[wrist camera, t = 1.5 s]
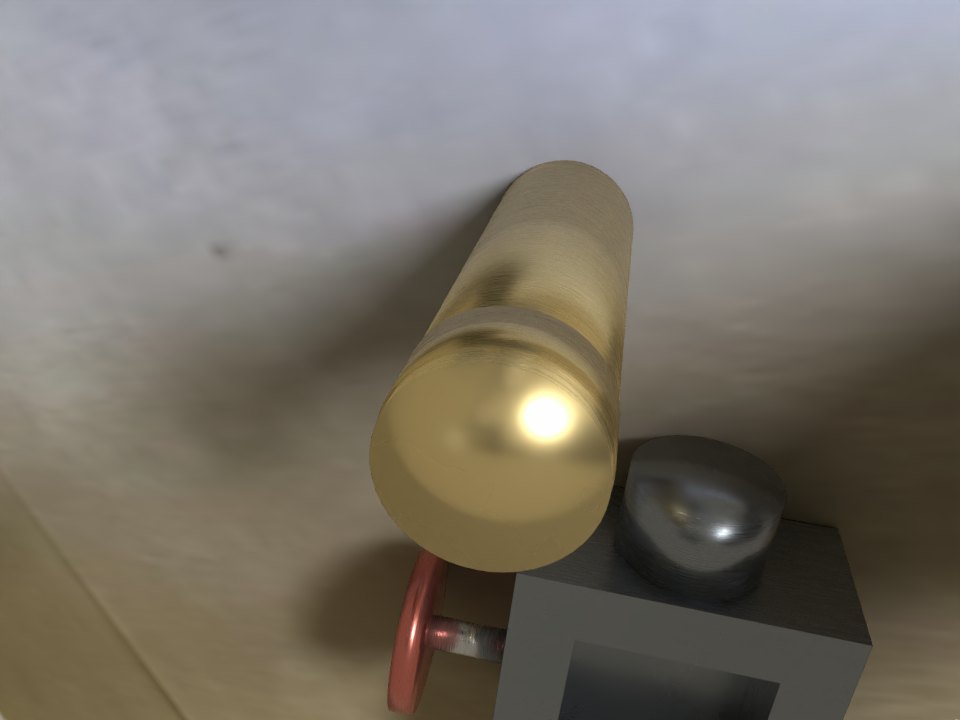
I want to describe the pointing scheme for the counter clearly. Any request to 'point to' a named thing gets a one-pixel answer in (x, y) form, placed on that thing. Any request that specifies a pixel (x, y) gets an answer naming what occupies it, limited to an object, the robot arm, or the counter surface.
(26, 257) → the counter surface
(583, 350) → the fitting
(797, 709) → the valve body
